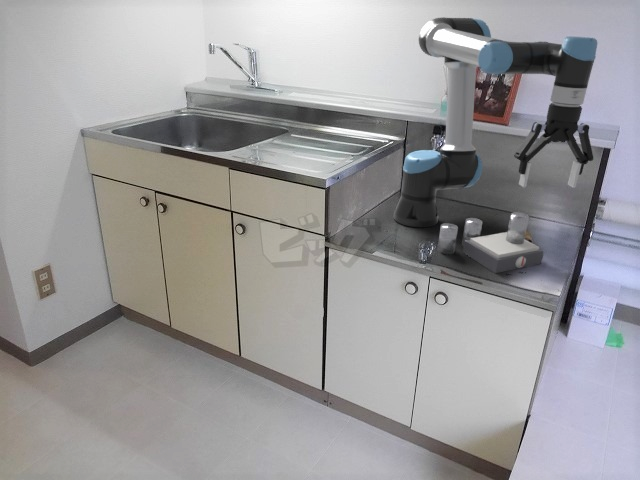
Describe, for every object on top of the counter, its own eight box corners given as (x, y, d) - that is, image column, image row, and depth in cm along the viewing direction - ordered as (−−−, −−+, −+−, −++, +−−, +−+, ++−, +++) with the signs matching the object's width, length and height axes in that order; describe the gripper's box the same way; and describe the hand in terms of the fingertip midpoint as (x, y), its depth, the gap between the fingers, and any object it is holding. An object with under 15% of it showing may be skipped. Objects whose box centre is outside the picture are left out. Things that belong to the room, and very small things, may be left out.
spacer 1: (434, 248, 156) (437, 224, 153) (447, 246, 158) (451, 222, 155) (444, 255, 152) (447, 230, 149) (457, 253, 154) (461, 228, 151)
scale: (462, 252, 154) (465, 237, 152) (506, 244, 161) (509, 230, 159) (497, 274, 142) (500, 257, 140) (542, 264, 148) (546, 248, 146)
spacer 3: (502, 238, 152) (507, 213, 149) (515, 236, 154) (520, 211, 151) (514, 245, 148) (519, 219, 145) (527, 242, 150) (533, 217, 147)
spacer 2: (458, 242, 161) (462, 219, 158) (471, 240, 163) (475, 217, 159) (468, 249, 157) (472, 224, 153) (481, 246, 159) (486, 222, 155)
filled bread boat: (517, 231, 172) (520, 219, 170) (535, 249, 159) (538, 236, 157) (502, 230, 171) (504, 218, 170) (518, 249, 158) (521, 236, 157)
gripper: (524, 105, 122) (507, 190, 131) (622, 108, 125) (599, 191, 134) (511, 100, 129) (495, 181, 138) (604, 102, 132) (583, 181, 140)
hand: (546, 186), depth 136 cm, fingers open, 13 cm apart
